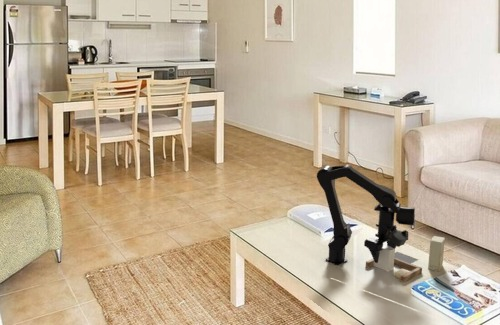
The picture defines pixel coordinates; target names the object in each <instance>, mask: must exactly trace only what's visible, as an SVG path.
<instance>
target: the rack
mask: <svg viewBox="0 0 500 325" xmlns="http://www.w3.org/2000/svg"><path fill="white" fill-rule="evenodd" d="M373 261H374V259H373V258H370V259H369V260H366V261H365V268H368V269H369V268H371V267H374V266H373ZM394 265H396V266H398V267H401V268H402V269H405V270H408V271H410V272H408V273H406V274H404V275H402V276H401V279H400V283H401V282H402V283H406V282H408V281H410V280H411V279H414V278H416V277H417V276H419V275H421V274H422V273H423V267H420V266H418V265H415V264H413V263H411V264H410V263H408V262H405V261H403V260H400V259H397V258H395V257H394Z"/></svg>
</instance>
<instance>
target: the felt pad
mask: <svg viewBox="0 0 500 325" xmlns="http://www.w3.org/2000/svg"><path fill="white" fill-rule="evenodd" d="M394 257H395V258H397V259H400V260H403V261H405V262H408V263H410V264H413V263H414V262H417V261H419V259H418V258H415V257H413V256H410V255H407V254H404V253H401V252H399V251H395V256H394Z"/></svg>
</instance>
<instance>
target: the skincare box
mask: <svg viewBox="0 0 500 325" xmlns="http://www.w3.org/2000/svg"><path fill="white" fill-rule="evenodd" d="M445 241H446V237H444V236H437V235H433V236H432V238H431V239H430V242H429V252H428V253H429V254H428V255H429V256H428V263H427V264H428V266H427V269H428V270H430V271H431V270H432V271H437V272H440V270H441V269H442V268H443V265H444V264H443V262H444V255H445V254H444V253H445Z"/></svg>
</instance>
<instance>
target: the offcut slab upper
mask: <svg viewBox="0 0 500 325" xmlns="http://www.w3.org/2000/svg"><path fill="white" fill-rule="evenodd" d="M410 271H411V270H408V269H406V268H403V267H401V268H400V269H399V270H396V271H395V272H394V275H393V276H394V277H395V276H396V278H398V277H399V278H398V279H400V278H401V276H402V275H404V274H406V273H408V272H410Z"/></svg>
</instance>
